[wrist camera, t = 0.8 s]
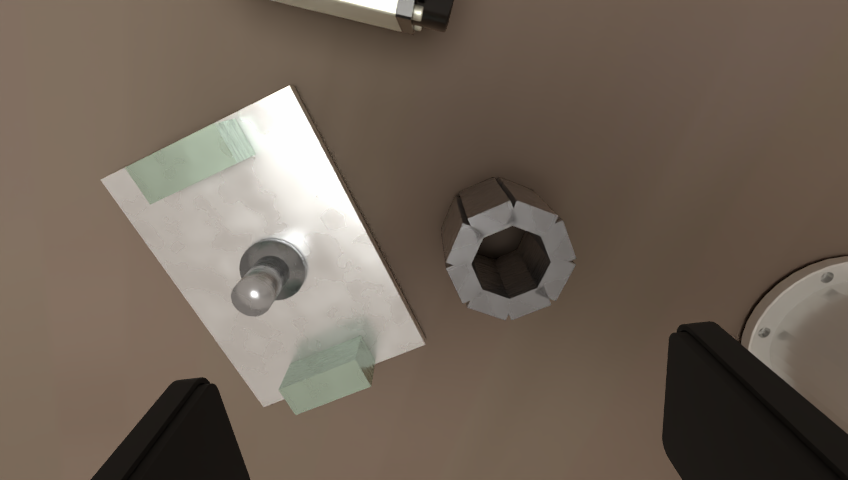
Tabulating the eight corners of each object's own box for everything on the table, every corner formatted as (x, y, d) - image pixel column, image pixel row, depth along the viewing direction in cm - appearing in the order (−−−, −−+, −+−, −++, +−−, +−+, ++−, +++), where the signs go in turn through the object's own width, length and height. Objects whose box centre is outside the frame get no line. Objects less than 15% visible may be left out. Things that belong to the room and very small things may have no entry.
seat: (425, 337, 34) (425, 384, 29) (267, 398, 36) (241, 452, 30) (293, 85, 27) (264, 87, 22) (110, 176, 29) (44, 197, 24)
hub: (557, 252, 31) (587, 290, 26) (467, 288, 32) (476, 333, 27) (525, 163, 29) (549, 183, 23) (428, 205, 30) (430, 234, 24)
